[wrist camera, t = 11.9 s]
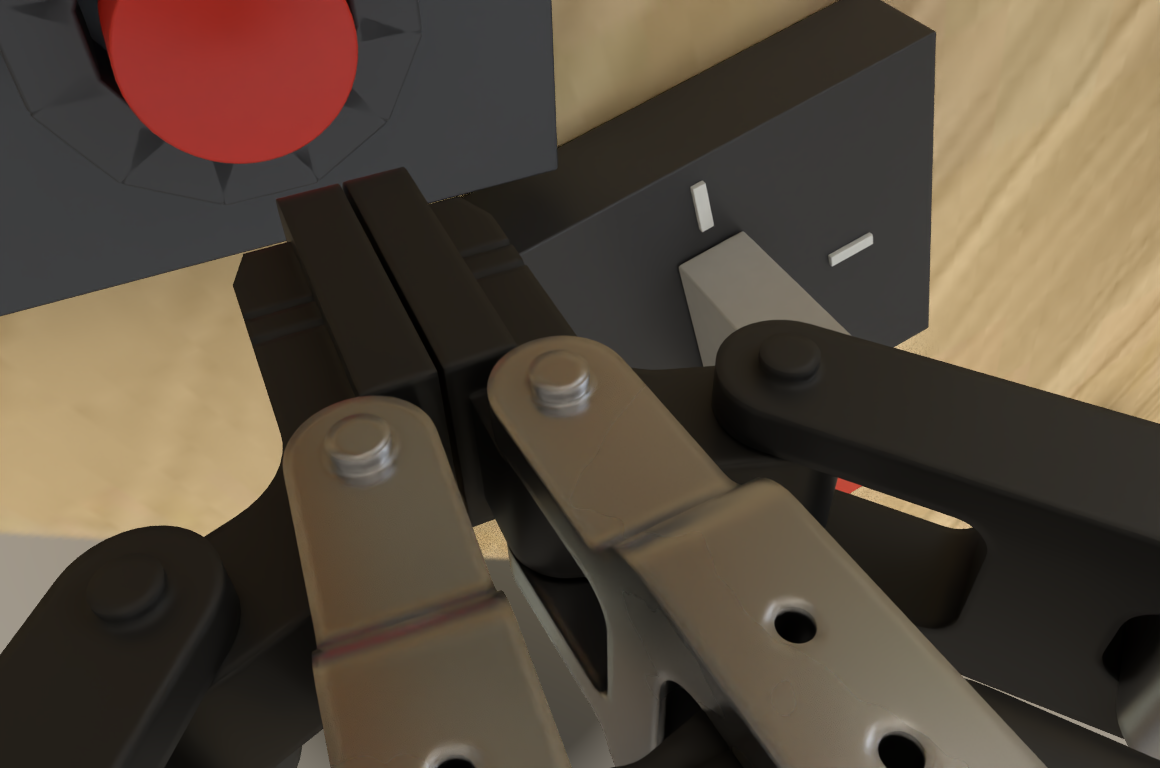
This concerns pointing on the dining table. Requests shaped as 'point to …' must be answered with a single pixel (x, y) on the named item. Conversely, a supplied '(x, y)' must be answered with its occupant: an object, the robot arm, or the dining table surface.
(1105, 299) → the dining table surface
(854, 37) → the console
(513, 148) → the red button base
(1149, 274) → the dining table surface
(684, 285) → the grey block
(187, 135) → the power button
